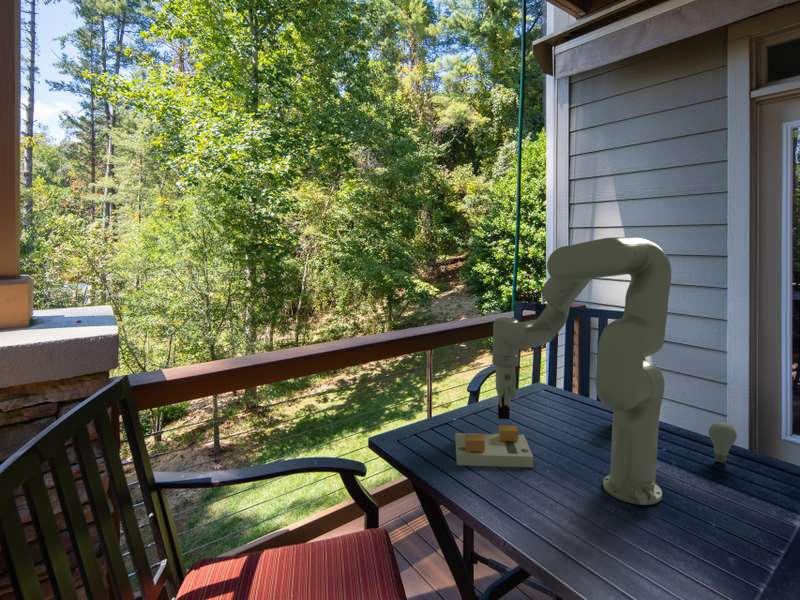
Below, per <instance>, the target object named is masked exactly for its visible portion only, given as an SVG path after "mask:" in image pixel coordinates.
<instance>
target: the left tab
mask: <svg viewBox="0 0 800 600" xmlns="http://www.w3.org/2000/svg"><path fill="white" fill-rule="evenodd" d="M465 447H466V451H476V452H485V440H484V435H468V434H465Z"/></svg>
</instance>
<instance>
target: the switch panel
mask: <svg viewBox="0 0 800 600" xmlns="http://www.w3.org/2000/svg"><path fill="white" fill-rule="evenodd" d="M465 434H468V435H484V440H485V452H476V451H466V447H465ZM454 435H455V436H454V439H455V441H454V442H455V445H456V446H455V456H456V458H455V460H456V461H455V462H456V466H467V465H468V466H472V467H474V466H476V467H499V468H500V467H504V468H509V467H510V468H534V455H533V453H532V451H531V449H530V446H529V444H528V441H527V439H526V436H525V434H520V433H518V441H500V438H499V433H477V432H475V433H471V432H469V433H468V432H455V434H454Z"/></svg>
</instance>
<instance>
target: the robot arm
mask: <svg viewBox="0 0 800 600" xmlns="http://www.w3.org/2000/svg"><path fill="white" fill-rule="evenodd" d="M546 270H547V272H548V274H549V276H550V277H549V278H548V279H547V281H546V282H545V283H544V285H543V286H542V287H541V293H540V294H541V296H542V298H543V299H544V301H545V302H547V304H546V306H545V308H544V309H543V311H542V312H541V314H540V315H539V316H538V317H537V318H536V319H531V320H526V321H522V322H519V320H518V319H517V318H514V317H497V318H496V319H494V321H493V326H492V328H493V329H492V334H493V335H492V357H491V358H492V360H491V361H492V363H491V364H492V365H493V366H495V391H496V394H497V397H498V404H497V417H498V420H510V409H511V408H510V401H511V400H513V401H515V400H516V398H517V397H516V396H517V393H516V392H517V390H516V389H517V387H516V386H517V385H516V384H517V382H516V380H517V378H516V367H518V366H519V350H527V349H533V348H534V347H539V346H544V345H547V344H548V343H550V342H551V341H552V340H554V338H555V337H556V336H557V335H558V334H559V332H560V331H561V330H562V328H564V326H565V324H566V323H567V320H568V317H569V313H570V307H571V306H572V305H573V303H574V302H575V301H576V299H577V298H578V297H579V296H580V295H581V293H582V292H583V290H584V289H585V288H586V287H587V286H588V284H589V283H590V282H591V280H592V279H598V278H606V277H607V278H608V277H616V276H625V275H626V276H627V275H630V276H629V277H630V282H629V285H628V287H627V290H626V292H625V299H624V309H623V315H622V318H618V319H614V320H613V321H611V322H610V323H608V324H607V325H606V326H605V327H604V329H603V330H602V332H601V335H600V337H599V343H598V350H597V351H598V352H597V359H596V361H597V362H596V369H595V370H596V371H595V381H594V382H595V391H596V394H597V397H598V399H599V400H600V402H601V403H602V404H603V405H604V406H605V407H606V408H608V409H610V410H613V415H612V423H611V424H612V429H611V448H610V449H611V450H610V452H611V453H610V473H609V474H608V475H606V476H604V478H603V479H602V487H603V488H604V489H603V490H604V491H605V492H606V493H607V494H609V495H610V496H612V497H614V498H615V499H617V500H619V501H623V502H625V503H629V504H633V505H638V506H639V505H640V506H650V505H655V504H657V503H659V502H661V501H662V499H663V491H662V489H661V487H660V486H659V485H658V484H657V483H656V479H657V478H656V474H657V460H658V459H657V457H658V441H659V440H658V439H659V430H660V429H659V428H660V427H659V425H660V414H661V407H662V403H663V398H664V394H665V388H666V387H665V386H666V385H665V378H664V375H663V373H662V371H661V369H660V368H659V367H658V366H657V365H656V364H654V363H653V362H651V361H649V360H646V358H647V357H651V356H653V355H655V354H656V353H658V352H659V351H661V349H662V348H663V346H664V343H665V339H666V328H667V327H666V326H667V319H668V310H669V300H670V298H669V297H670V289H671V285H672V284H671V283H672V266H671V262H670V259H669V257H668V255H667V253H666V252H665V251H664V250H663V249H662V248H661V247H660V246H659V245H658V244H656V243H655V242H654V241H651V240H648V239H646V238H642V237H634V236H622V237H619V236H617V237H603V238H598V239H593V240H589V241H584V242H579V243H574V244H568V245H563V246H560V247H558V248H556V249H554V250H553V251H552V252H551V254H550V255H549V257H548V259H547V263H546ZM644 358H645V360H643V359H644Z"/></svg>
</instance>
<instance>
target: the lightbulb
mask: <svg viewBox="0 0 800 600" xmlns="http://www.w3.org/2000/svg"><path fill="white" fill-rule="evenodd" d="M707 434H708V437H709V438H710V440H711V442H712V445H713V451H714V460H715V461H716V462H717V463H719V462H721V463H720V464H723V463H726V462H727V458H728V455H729V451H730V449H731V447H732V445H734V443H735V442H736V441H737V437H738V436H737V431H736V430H735V428H734V427H733V426H732V425H730V424H728V423H726V422H723V421H722V422H721V421H720V422H719V421H718V422H715V423H713V424H711V425H710V427H709V428H708V433H707Z"/></svg>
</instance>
